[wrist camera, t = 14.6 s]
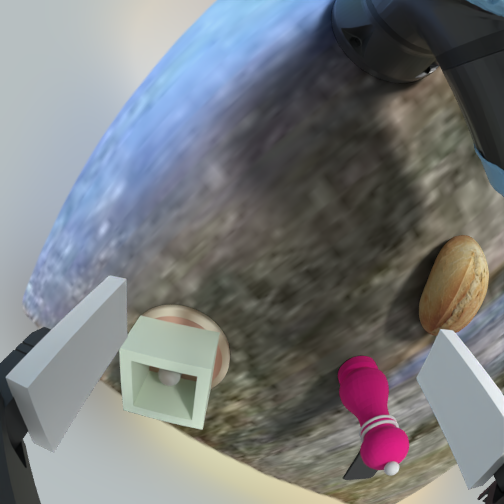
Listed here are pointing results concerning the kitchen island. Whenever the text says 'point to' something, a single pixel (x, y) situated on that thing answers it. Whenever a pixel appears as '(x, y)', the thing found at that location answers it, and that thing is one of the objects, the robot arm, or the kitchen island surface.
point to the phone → (359, 470)
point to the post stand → (196, 320)
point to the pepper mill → (372, 414)
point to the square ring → (169, 358)
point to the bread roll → (454, 286)
